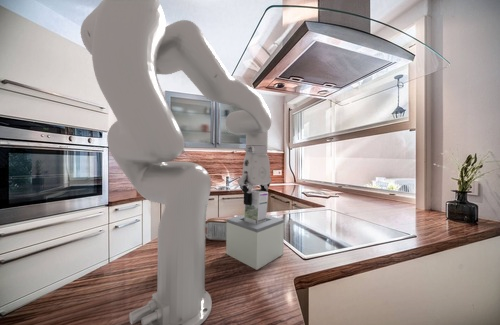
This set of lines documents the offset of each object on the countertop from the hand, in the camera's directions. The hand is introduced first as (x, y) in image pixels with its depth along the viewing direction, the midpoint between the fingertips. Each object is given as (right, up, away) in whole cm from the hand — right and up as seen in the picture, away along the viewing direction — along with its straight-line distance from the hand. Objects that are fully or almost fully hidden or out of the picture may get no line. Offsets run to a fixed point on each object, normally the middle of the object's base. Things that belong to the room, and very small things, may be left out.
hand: (255, 202), depth 67 cm
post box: (0, -18, 0) cm, 18 cm away
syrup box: (-1, -11, -1) cm, 11 cm away
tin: (-14, -18, +12) cm, 25 cm away
